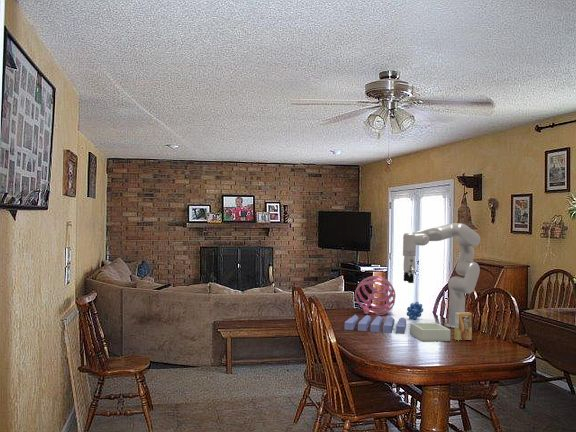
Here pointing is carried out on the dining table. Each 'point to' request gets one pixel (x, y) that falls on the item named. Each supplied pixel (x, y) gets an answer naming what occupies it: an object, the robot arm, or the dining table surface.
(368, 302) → the pink lattice ball
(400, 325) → the blocks
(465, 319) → the candy box
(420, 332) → the crate
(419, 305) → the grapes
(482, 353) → the dining table surface
